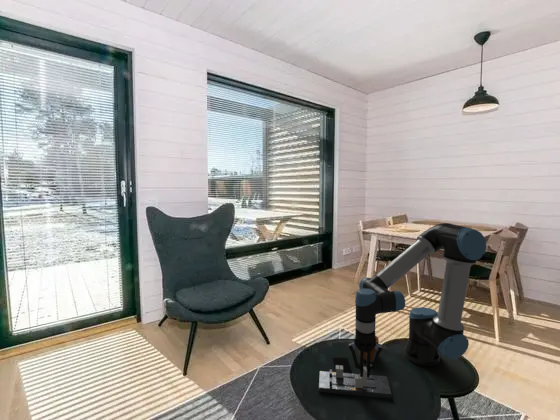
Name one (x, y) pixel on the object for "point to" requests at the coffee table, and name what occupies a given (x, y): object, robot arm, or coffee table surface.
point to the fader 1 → (339, 371)
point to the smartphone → (342, 364)
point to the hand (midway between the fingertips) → (364, 383)
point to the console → (346, 385)
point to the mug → (371, 351)
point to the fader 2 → (358, 381)
